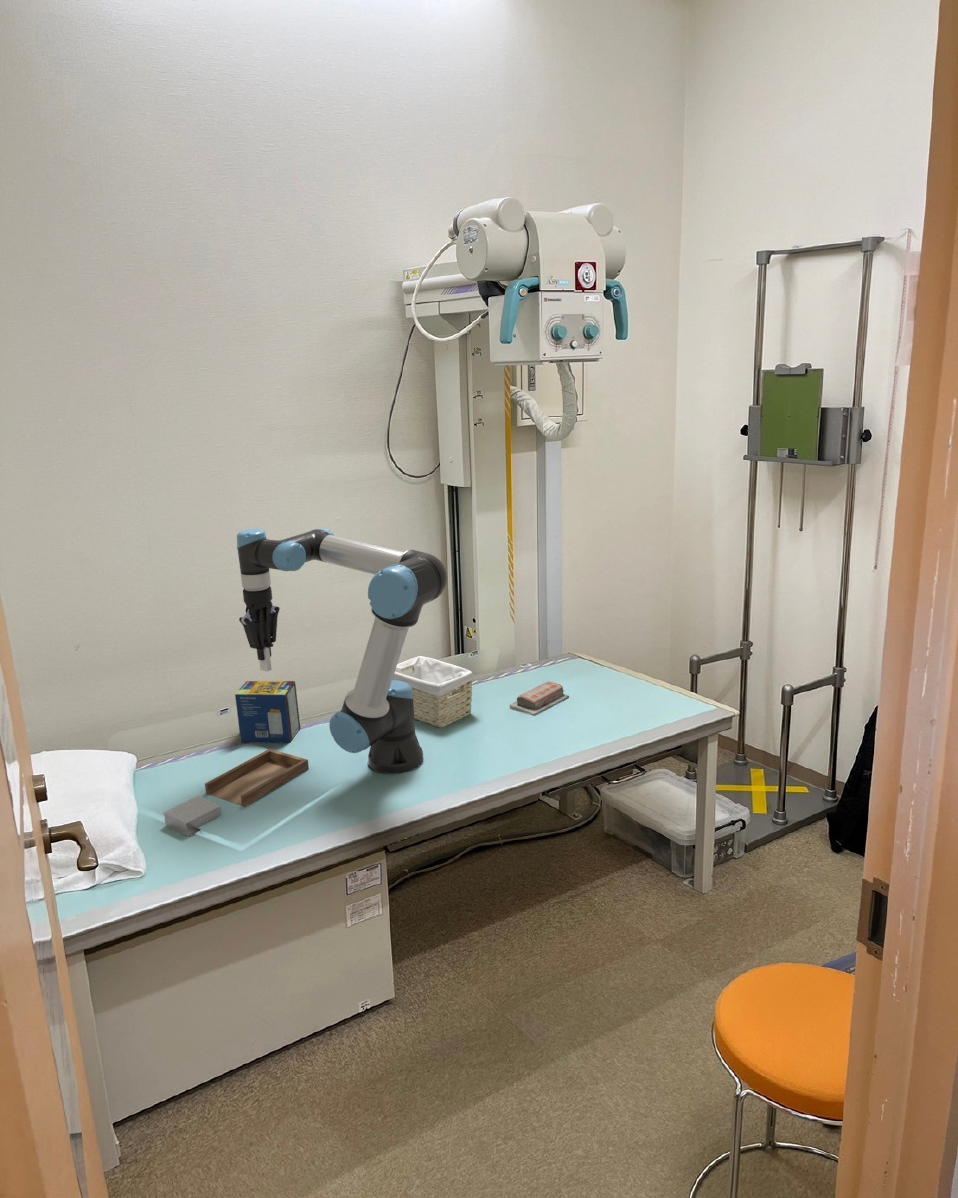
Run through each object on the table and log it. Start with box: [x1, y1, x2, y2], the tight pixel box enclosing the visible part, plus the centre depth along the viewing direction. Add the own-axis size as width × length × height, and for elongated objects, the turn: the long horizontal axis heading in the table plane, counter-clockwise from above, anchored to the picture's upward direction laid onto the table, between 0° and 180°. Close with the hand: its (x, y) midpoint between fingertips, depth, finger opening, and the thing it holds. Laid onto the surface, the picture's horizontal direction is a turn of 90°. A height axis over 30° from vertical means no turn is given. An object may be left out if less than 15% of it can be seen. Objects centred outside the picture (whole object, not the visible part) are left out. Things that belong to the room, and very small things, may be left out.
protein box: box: [234, 680, 301, 744], centre depth 271 cm, size 10×15×16 cm
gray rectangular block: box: [163, 795, 222, 838], centre depth 226 cm, size 9×10×4 cm
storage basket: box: [392, 655, 474, 728], centre depth 283 cm, size 24×16×15 cm
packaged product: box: [509, 681, 570, 716], centre depth 289 cm, size 18×5×10 cm
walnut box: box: [204, 748, 309, 808], centre depth 243 cm, size 14×23×4 cm, turn 147°
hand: (266, 669), depth 252 cm, fingers closed
